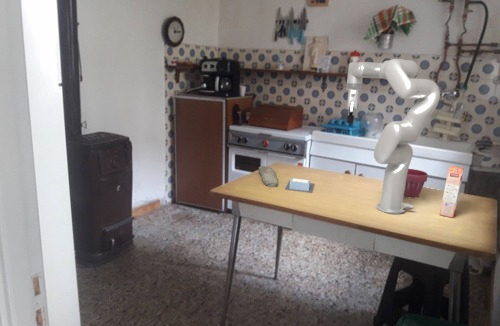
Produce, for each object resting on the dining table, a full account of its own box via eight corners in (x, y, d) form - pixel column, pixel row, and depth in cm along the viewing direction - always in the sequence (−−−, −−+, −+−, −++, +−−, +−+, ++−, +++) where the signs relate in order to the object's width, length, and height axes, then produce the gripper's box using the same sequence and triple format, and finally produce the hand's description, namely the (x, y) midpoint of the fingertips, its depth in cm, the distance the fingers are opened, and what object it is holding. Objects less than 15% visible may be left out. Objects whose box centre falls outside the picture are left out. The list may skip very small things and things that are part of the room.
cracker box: (454, 218, 171) (462, 173, 166) (439, 215, 174) (447, 170, 169) (456, 210, 183) (464, 167, 178) (442, 207, 186) (450, 165, 181)
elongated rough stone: (262, 189, 203) (280, 191, 203) (263, 180, 201) (282, 182, 202) (256, 169, 236) (272, 170, 237) (257, 161, 234) (273, 162, 235)
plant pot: (400, 199, 194) (404, 174, 191) (390, 190, 208) (393, 167, 205) (428, 200, 195) (433, 176, 192) (416, 192, 208) (420, 169, 205)
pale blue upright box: (310, 180, 204) (309, 183, 197) (309, 187, 205) (308, 191, 198) (291, 177, 206) (289, 181, 199) (291, 185, 207) (289, 188, 200)
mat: (314, 184, 212) (314, 183, 212) (312, 192, 197) (312, 192, 197) (289, 181, 215) (289, 180, 215) (284, 189, 200) (285, 188, 200)
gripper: (362, 88, 189) (357, 125, 194) (361, 87, 204) (356, 121, 208) (346, 87, 191) (342, 124, 195) (346, 86, 205) (342, 120, 209)
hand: (349, 122), depth 202 cm, fingers closed
